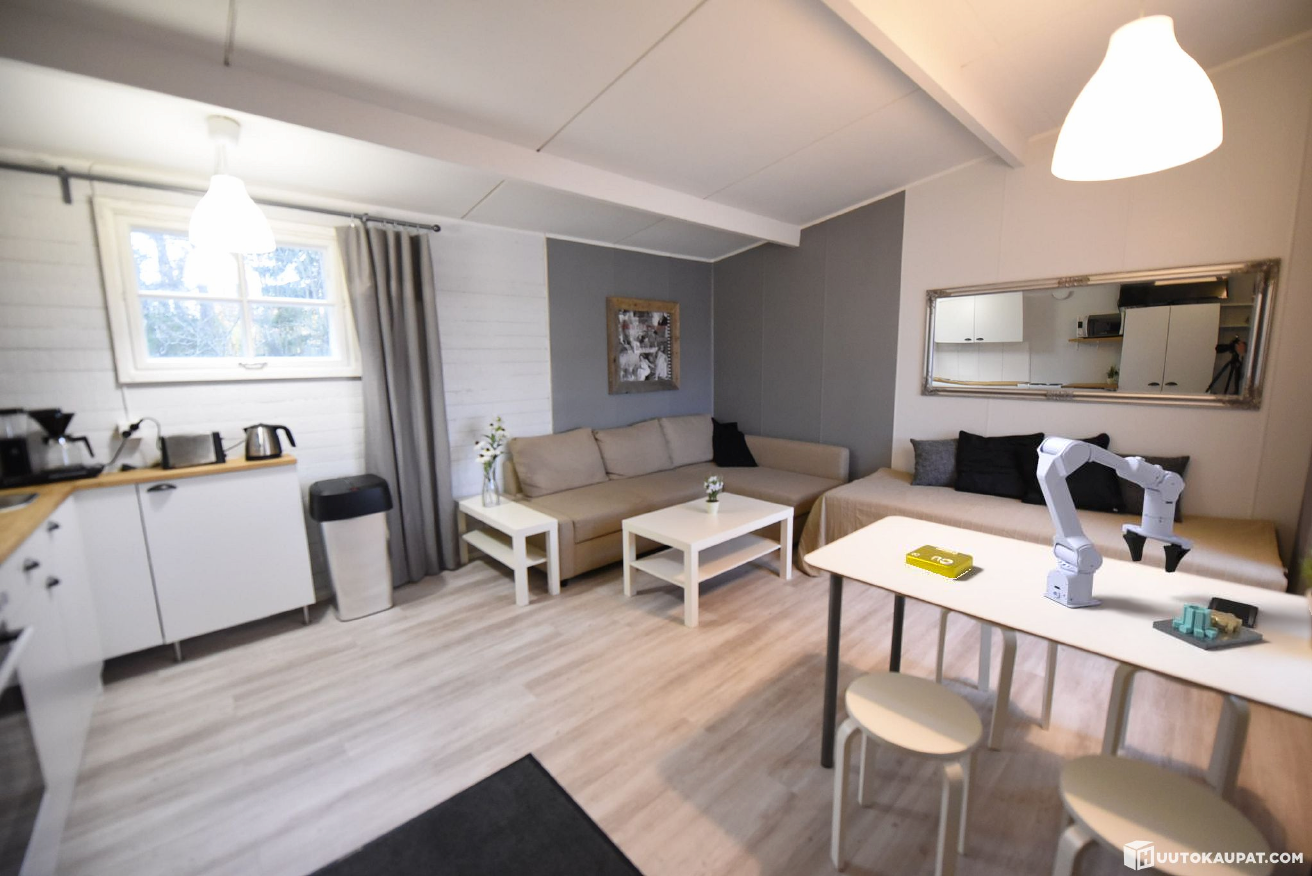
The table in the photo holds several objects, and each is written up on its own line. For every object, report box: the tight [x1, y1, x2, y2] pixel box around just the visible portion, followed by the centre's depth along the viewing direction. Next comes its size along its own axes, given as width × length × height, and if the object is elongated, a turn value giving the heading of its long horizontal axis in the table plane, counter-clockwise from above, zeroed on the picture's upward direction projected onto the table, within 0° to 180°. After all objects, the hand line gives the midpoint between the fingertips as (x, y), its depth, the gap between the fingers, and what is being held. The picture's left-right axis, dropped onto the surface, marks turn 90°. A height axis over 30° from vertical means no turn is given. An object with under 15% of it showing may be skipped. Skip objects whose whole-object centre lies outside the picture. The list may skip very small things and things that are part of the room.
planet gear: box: [1173, 603, 1219, 638], centre depth 114 cm, size 7×7×5 cm
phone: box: [1207, 596, 1259, 630], centre depth 124 cm, size 8×1×15 cm
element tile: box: [905, 544, 974, 578], centre depth 158 cm, size 15×15×5 cm
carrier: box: [1152, 609, 1264, 651], centre depth 115 cm, size 16×10×5 cm, turn 100°
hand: (1152, 566), depth 131 cm, fingers open, 7 cm apart
